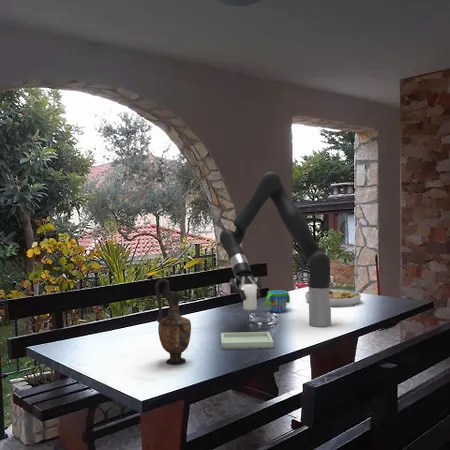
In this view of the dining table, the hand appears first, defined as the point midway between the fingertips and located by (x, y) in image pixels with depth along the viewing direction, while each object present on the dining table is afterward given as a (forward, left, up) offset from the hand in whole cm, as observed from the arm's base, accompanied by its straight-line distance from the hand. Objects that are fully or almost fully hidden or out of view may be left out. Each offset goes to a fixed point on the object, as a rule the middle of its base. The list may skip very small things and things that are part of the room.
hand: (251, 298), depth 209 cm
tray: (+3, +9, -16) cm, 19 cm away
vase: (+30, +30, -16) cm, 45 cm away
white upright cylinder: (+1, -2, -4) cm, 5 cm away
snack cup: (-17, -48, -16) cm, 54 cm away
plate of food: (-50, -68, -17) cm, 86 cm away
